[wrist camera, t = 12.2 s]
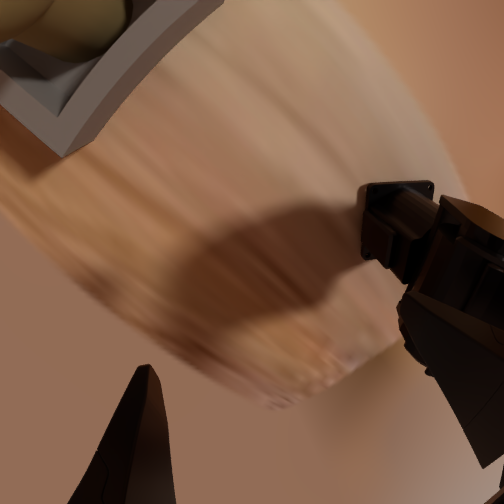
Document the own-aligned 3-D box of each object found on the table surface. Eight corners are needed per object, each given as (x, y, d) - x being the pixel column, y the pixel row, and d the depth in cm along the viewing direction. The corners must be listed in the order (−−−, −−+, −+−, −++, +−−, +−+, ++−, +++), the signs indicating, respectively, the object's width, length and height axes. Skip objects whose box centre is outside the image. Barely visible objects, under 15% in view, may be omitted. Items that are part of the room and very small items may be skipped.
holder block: (223, 3, 14) (229, -24, 10) (93, 140, 17) (61, 158, 13) (102, -74, 8) (81, -104, 4) (-9, 55, 12) (-51, 55, 7)
